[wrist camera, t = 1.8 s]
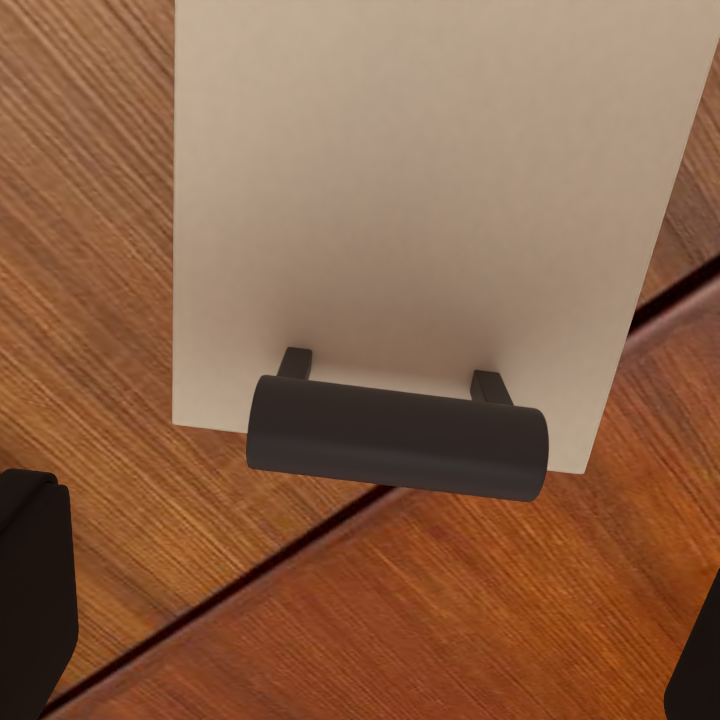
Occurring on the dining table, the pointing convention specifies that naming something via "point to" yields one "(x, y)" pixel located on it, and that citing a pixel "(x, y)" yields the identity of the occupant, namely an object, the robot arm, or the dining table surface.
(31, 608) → the robot arm
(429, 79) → the lid
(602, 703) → the dining table surface
